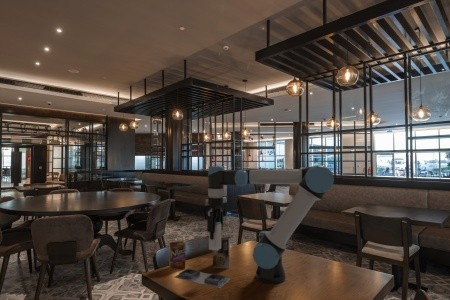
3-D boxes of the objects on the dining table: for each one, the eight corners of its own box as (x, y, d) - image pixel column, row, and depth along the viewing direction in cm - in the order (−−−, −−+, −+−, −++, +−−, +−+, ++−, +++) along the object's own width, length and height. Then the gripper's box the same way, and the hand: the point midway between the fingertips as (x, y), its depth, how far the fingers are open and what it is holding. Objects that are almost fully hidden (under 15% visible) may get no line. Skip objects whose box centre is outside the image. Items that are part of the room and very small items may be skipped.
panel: (230, 279, 141) (230, 275, 141) (219, 288, 130) (219, 284, 131) (187, 270, 153) (187, 266, 153) (173, 278, 142) (173, 274, 142)
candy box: (168, 270, 152) (169, 242, 153) (169, 267, 156) (169, 240, 157) (185, 270, 153) (185, 241, 154) (185, 267, 158) (185, 239, 158)
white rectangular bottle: (221, 248, 140) (221, 222, 141) (216, 250, 136) (217, 223, 137) (212, 246, 142) (212, 221, 143) (207, 249, 138) (207, 222, 139)
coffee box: (229, 265, 161) (230, 236, 162) (228, 269, 154) (229, 239, 155) (214, 264, 162) (214, 236, 163) (212, 268, 155) (212, 239, 156)
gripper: (217, 194, 150) (217, 239, 149) (199, 198, 134) (199, 248, 133) (230, 195, 146) (229, 241, 145) (213, 199, 131) (213, 250, 130)
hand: (215, 244), depth 139 cm, fingers closed on white rectangular bottle, 4 cm apart
